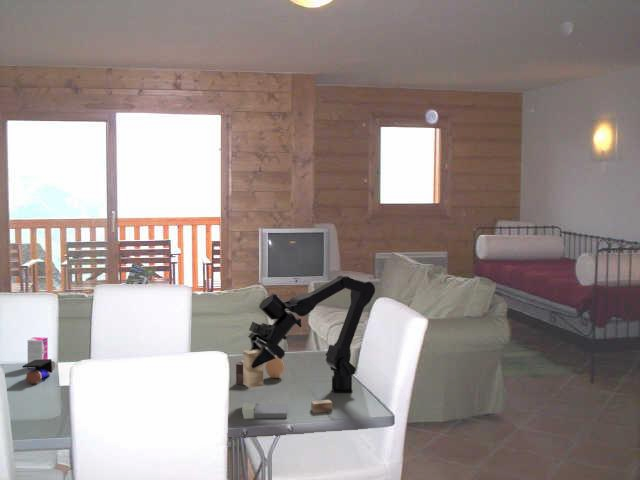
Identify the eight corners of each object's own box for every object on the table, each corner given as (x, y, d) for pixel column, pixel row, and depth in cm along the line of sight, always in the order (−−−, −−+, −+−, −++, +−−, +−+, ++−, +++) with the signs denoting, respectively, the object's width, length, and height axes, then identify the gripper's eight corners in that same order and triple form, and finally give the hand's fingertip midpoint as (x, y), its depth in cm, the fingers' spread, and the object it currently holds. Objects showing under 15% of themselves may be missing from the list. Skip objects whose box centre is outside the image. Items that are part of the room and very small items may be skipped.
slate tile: (287, 407, 224) (287, 403, 223) (286, 418, 214) (286, 413, 213) (255, 407, 223) (255, 403, 223) (253, 418, 213) (253, 413, 213)
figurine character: (37, 378, 262) (21, 385, 247) (37, 357, 262) (21, 363, 247) (55, 378, 262) (40, 385, 247) (56, 357, 262) (41, 363, 247)
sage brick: (242, 413, 219) (242, 403, 218) (251, 412, 219) (251, 403, 219) (244, 419, 213) (244, 409, 213) (254, 418, 213) (254, 409, 213)
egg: (287, 376, 260) (287, 353, 259) (277, 381, 254) (277, 357, 253) (271, 374, 263) (271, 350, 262) (261, 378, 257) (261, 354, 256)
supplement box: (42, 369, 268) (41, 340, 267) (27, 369, 268) (26, 340, 267) (48, 365, 274) (47, 337, 273) (33, 365, 274) (32, 336, 273)
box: (251, 385, 248) (251, 365, 248) (235, 384, 250) (235, 364, 249) (256, 380, 254) (256, 361, 254) (241, 379, 256) (240, 360, 255)
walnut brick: (329, 408, 223) (329, 399, 223) (332, 411, 220) (332, 402, 220) (311, 410, 222) (311, 401, 221) (313, 413, 219) (313, 404, 218)
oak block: (257, 381, 231) (257, 349, 230) (263, 385, 227) (263, 352, 226) (243, 383, 229) (243, 350, 228) (248, 387, 224) (248, 354, 223)
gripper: (253, 308, 236) (222, 343, 232) (275, 317, 219) (242, 356, 215) (275, 329, 240) (245, 364, 236) (298, 340, 224) (266, 378, 219)
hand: (249, 365), depth 227 cm, fingers closed on oak block, 5 cm apart
